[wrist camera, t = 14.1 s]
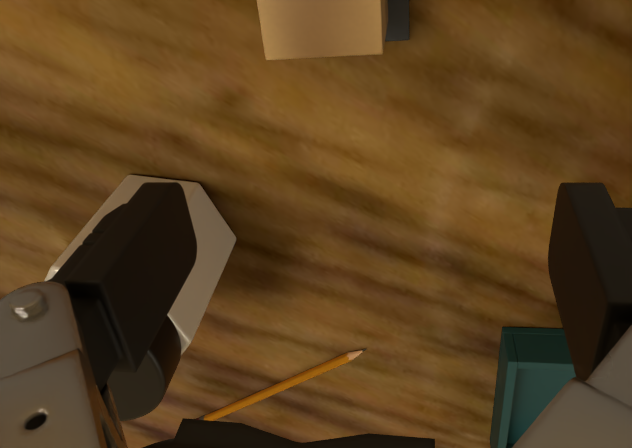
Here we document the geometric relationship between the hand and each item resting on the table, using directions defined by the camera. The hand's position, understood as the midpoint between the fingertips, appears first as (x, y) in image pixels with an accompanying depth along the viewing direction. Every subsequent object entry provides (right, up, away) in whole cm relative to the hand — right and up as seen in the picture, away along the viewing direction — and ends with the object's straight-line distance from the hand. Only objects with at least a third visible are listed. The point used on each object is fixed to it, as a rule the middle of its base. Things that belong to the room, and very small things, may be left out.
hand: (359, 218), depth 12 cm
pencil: (-5, -13, +33) cm, 36 cm away
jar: (-10, 0, +25) cm, 27 cm away
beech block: (0, +12, +14) cm, 19 cm away
